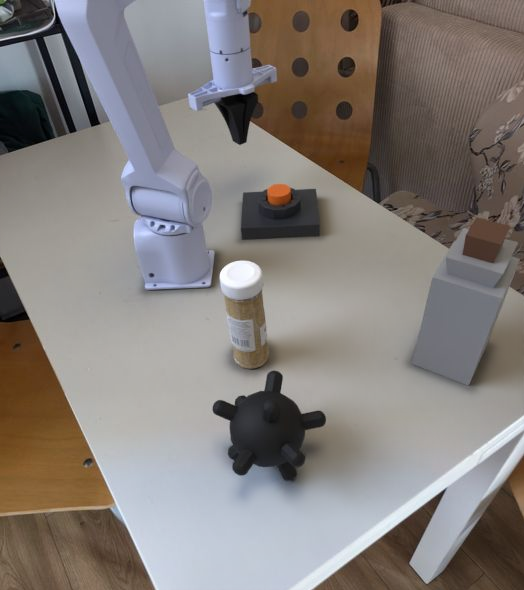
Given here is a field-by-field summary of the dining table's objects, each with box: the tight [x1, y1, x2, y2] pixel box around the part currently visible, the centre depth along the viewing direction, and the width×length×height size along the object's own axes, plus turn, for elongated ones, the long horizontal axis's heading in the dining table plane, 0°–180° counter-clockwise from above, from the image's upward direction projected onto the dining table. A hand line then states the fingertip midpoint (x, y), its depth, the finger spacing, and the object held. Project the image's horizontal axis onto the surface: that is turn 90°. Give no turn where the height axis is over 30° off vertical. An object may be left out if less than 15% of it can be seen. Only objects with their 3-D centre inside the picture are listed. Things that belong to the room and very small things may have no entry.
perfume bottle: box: [411, 216, 521, 386], centre depth 56 cm, size 7×7×18 cm
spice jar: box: [219, 260, 270, 370], centre depth 59 cm, size 5×5×13 cm
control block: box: [240, 187, 321, 241], centre depth 82 cm, size 12×10×4 cm
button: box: [267, 183, 291, 205], centre depth 80 cm, size 4×4×2 cm
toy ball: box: [212, 370, 327, 482], centre depth 52 cm, size 11×11×12 cm
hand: (239, 141), depth 82 cm, fingers closed
